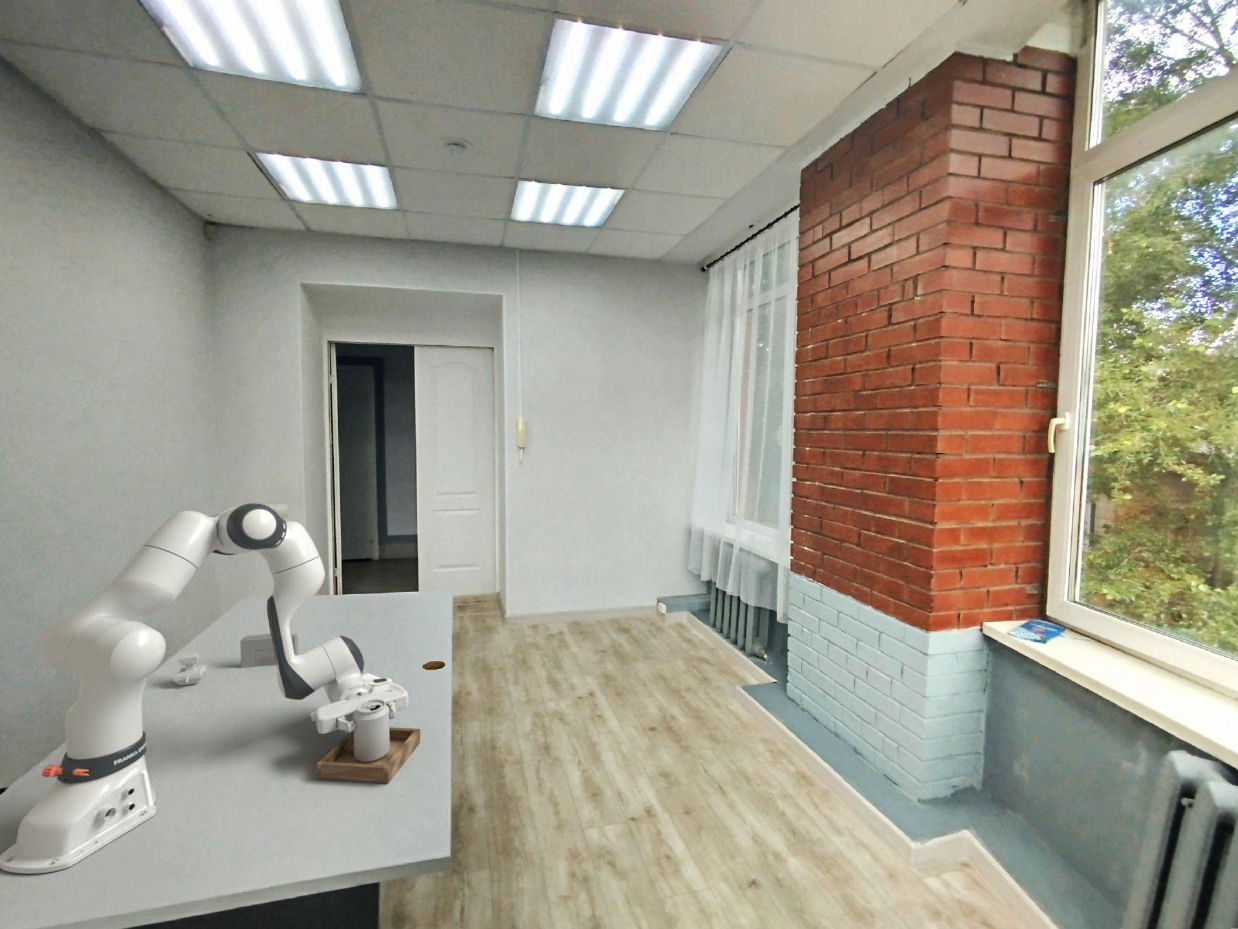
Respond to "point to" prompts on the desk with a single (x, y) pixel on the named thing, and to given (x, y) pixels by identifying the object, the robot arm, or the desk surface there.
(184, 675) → the stamp
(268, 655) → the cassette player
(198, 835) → the desk surface
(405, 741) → the tray
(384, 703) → the can
